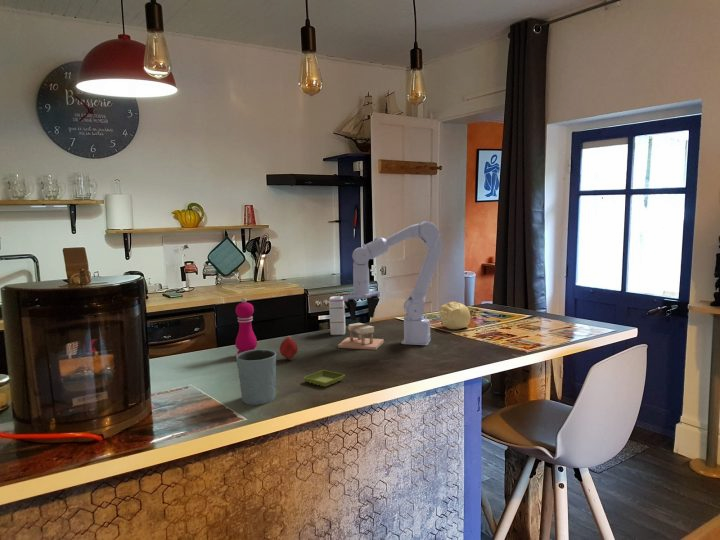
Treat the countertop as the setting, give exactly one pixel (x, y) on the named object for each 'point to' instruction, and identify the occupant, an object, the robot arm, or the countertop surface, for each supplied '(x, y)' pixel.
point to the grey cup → (257, 375)
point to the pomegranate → (288, 348)
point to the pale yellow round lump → (455, 315)
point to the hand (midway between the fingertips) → (362, 318)
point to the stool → (361, 331)
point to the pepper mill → (245, 327)
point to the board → (357, 343)
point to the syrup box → (337, 315)
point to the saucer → (324, 378)
